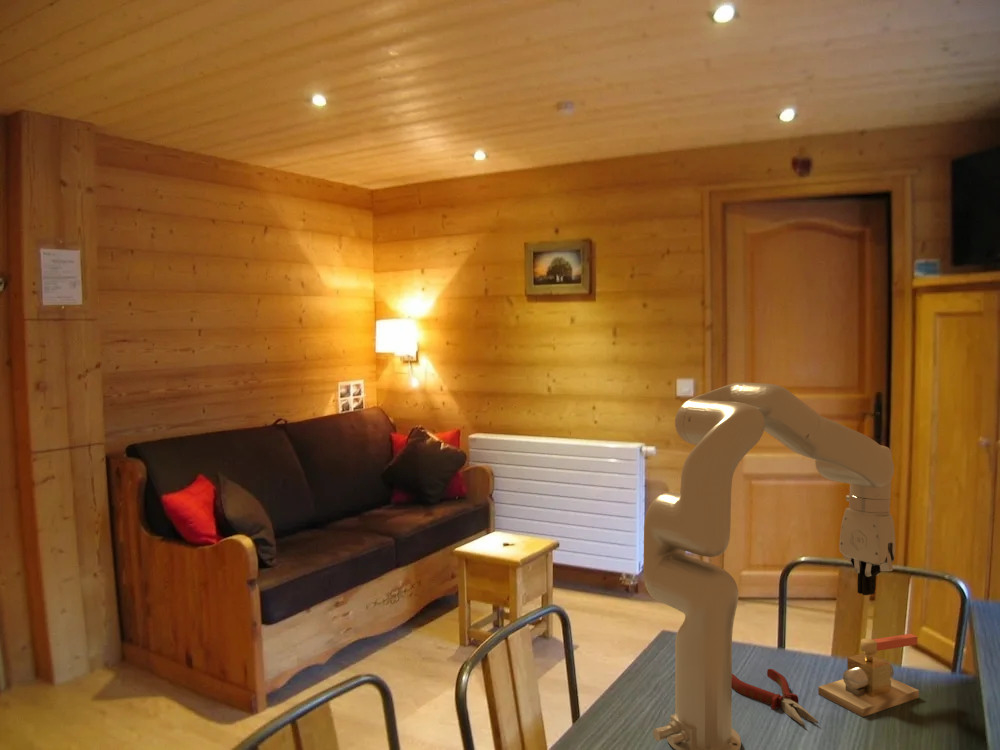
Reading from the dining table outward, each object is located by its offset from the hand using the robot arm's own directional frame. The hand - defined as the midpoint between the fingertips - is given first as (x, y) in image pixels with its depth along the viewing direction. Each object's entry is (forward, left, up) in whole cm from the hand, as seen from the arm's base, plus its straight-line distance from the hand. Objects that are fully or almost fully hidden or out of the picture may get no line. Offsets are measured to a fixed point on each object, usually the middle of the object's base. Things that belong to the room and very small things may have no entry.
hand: (866, 593), depth 152 cm
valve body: (-6, -5, -16) cm, 18 cm away
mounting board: (-6, -5, -18) cm, 20 cm away
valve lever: (-1, -6, -9) cm, 11 cm away
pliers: (-25, +3, -19) cm, 31 cm away
